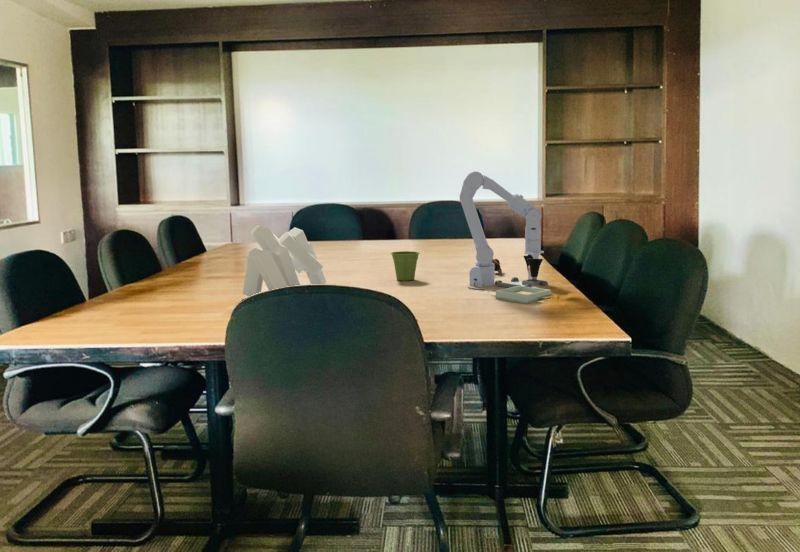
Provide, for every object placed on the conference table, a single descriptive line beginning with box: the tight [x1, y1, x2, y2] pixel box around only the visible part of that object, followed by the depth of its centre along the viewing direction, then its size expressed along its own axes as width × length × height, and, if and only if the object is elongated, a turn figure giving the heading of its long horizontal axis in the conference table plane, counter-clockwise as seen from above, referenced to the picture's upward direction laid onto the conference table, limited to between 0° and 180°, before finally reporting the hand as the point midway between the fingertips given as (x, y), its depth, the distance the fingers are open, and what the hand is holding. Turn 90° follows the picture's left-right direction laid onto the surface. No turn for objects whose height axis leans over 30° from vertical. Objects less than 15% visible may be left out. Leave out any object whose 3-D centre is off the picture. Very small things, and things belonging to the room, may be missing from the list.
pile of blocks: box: [242, 224, 327, 297], centre depth 271 cm, size 35×30×35 cm
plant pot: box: [390, 250, 420, 282], centre depth 305 cm, size 12×12×11 cm
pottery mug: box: [492, 258, 503, 276], centre depth 318 cm, size 12×10×8 cm
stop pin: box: [527, 266, 538, 282], centre depth 279 cm, size 3×3×7 cm
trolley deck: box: [494, 276, 549, 288], centre depth 279 cm, size 15×15×3 cm
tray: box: [495, 286, 552, 305], centre depth 259 cm, size 14×14×3 cm
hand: (532, 275), depth 279 cm, fingers open, 7 cm apart
